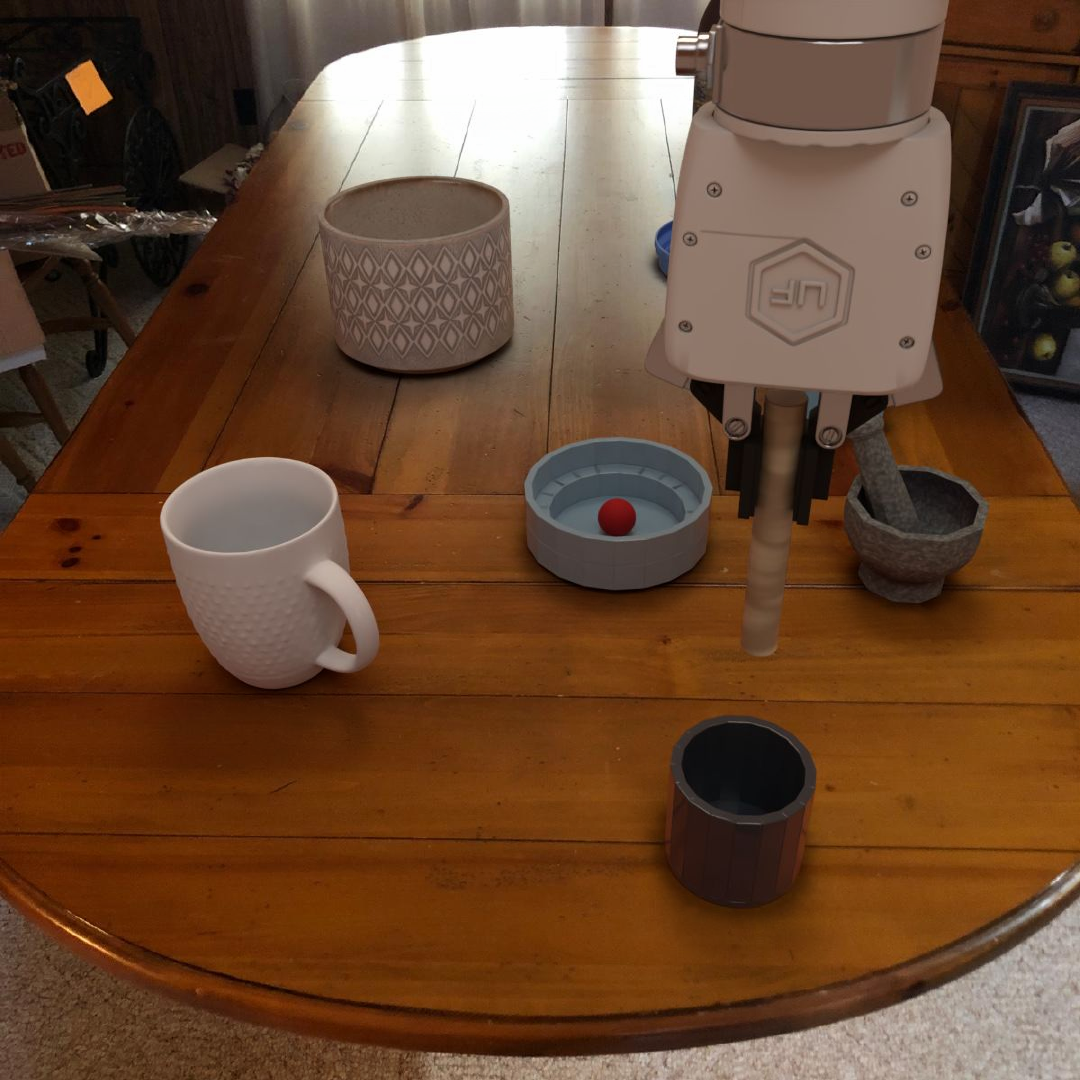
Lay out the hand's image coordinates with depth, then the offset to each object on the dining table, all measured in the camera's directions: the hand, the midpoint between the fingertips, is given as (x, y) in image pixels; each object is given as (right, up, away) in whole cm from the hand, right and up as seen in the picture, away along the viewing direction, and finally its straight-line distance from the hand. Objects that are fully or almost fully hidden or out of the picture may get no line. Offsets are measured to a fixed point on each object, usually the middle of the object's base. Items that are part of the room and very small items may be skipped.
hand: (774, 502), depth 49 cm
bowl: (+12, +31, +80) cm, 87 cm away
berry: (-5, 0, +36) cm, 36 cm away
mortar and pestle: (+16, -4, +33) cm, 37 cm away
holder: (0, -19, +13) cm, 23 cm away
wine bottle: (+13, +46, +101) cm, 112 cm away
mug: (-28, -10, +26) cm, 40 cm away
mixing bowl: (-5, -1, +37) cm, 37 cm away
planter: (-22, +19, +66) cm, 72 cm away
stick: (0, -7, +5) cm, 9 cm away
